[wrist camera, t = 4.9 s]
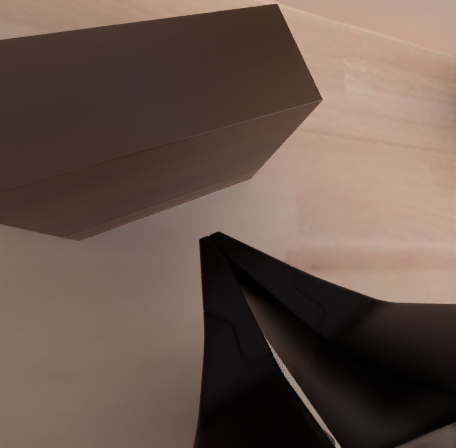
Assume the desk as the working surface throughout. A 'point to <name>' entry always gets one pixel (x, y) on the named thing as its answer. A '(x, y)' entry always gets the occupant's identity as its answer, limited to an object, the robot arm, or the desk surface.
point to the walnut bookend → (143, 116)
